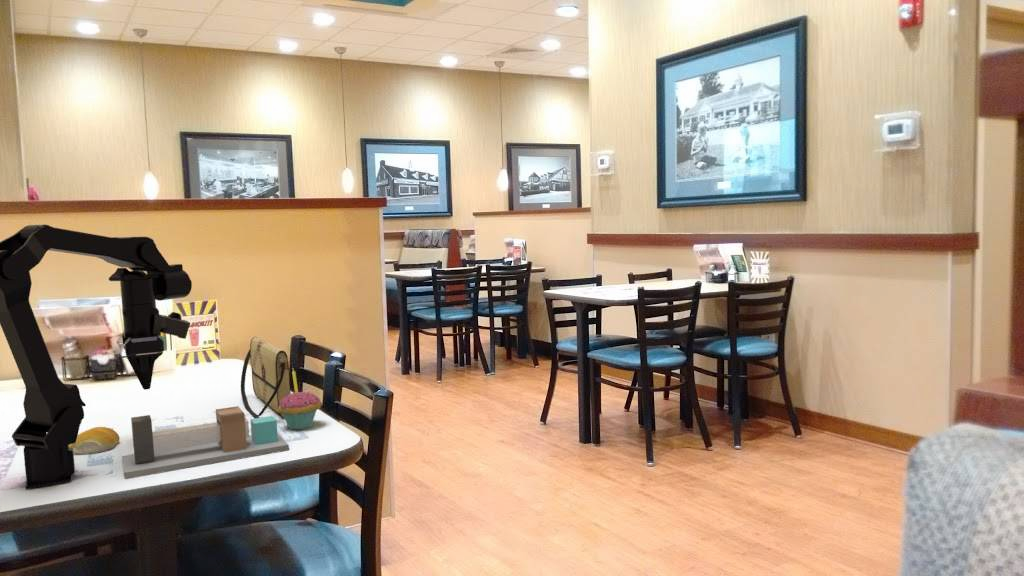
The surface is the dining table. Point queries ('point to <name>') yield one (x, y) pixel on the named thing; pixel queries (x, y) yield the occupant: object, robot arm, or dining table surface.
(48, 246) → the robot arm
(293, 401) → the cupcake
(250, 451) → the guide
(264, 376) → the shoulder bag
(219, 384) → the dining table surface
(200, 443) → the grey long block
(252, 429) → the block
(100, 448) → the bread roll
